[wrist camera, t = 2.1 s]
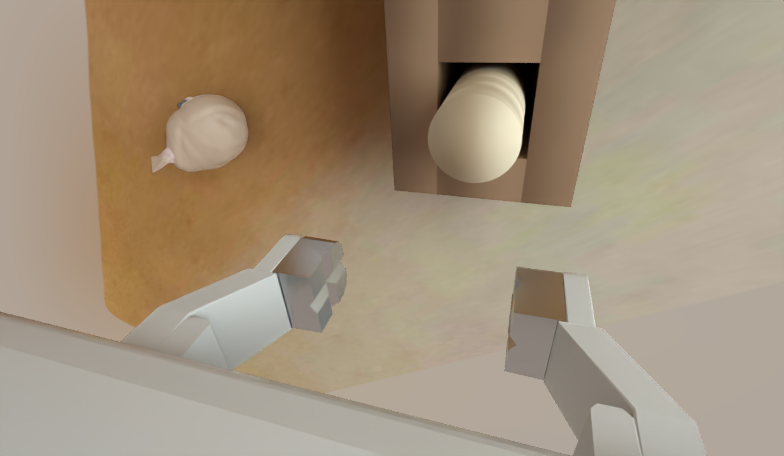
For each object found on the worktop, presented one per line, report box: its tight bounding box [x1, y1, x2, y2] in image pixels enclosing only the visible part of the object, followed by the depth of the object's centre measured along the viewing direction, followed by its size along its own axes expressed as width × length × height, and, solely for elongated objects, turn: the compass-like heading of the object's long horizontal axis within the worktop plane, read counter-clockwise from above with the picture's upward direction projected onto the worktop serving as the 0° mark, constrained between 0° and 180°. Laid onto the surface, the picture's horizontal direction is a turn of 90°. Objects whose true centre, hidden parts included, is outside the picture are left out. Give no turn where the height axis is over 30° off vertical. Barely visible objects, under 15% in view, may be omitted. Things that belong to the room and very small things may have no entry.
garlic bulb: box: [152, 94, 248, 173], centre depth 35 cm, size 7×6×8 cm
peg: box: [428, 62, 528, 183], centre depth 21 cm, size 4×4×9 cm
